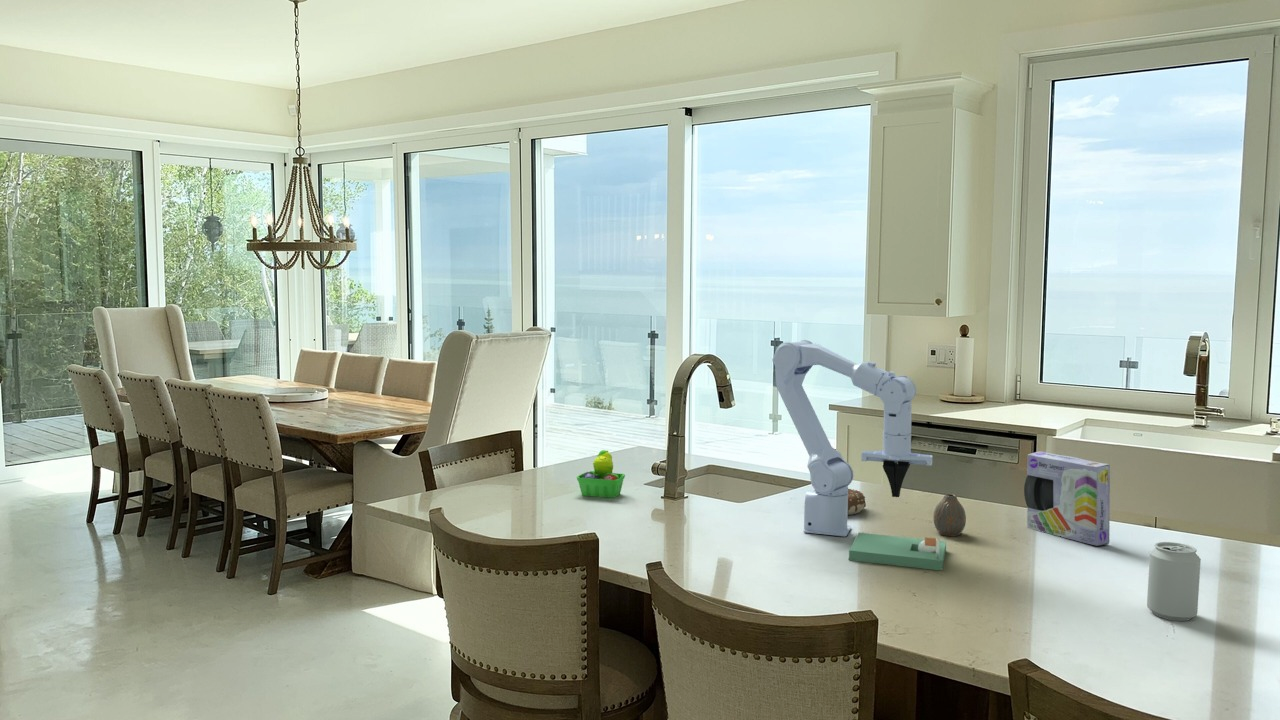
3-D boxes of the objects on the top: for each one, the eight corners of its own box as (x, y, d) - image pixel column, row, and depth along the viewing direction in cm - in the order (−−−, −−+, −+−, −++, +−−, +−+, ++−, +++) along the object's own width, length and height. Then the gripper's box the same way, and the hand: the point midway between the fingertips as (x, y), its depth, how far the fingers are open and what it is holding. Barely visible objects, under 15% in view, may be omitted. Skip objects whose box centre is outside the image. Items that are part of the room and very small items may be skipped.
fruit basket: (575, 496, 241) (575, 453, 239) (587, 489, 249) (587, 447, 248) (617, 499, 237) (617, 456, 236) (627, 492, 246) (627, 450, 245)
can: (1137, 607, 162) (1140, 540, 161) (1177, 606, 162) (1181, 539, 161) (1164, 623, 154) (1169, 553, 153) (1207, 622, 155) (1211, 552, 154)
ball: (927, 562, 187) (914, 549, 188) (927, 558, 190) (914, 546, 191) (939, 550, 186) (926, 537, 187) (939, 547, 190) (926, 534, 190)
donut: (868, 519, 220) (868, 498, 219) (809, 516, 222) (810, 496, 222) (863, 504, 234) (863, 484, 234) (808, 502, 236) (808, 482, 236)
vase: (967, 538, 203) (969, 499, 202) (934, 536, 205) (936, 498, 204) (963, 530, 210) (964, 492, 209) (931, 528, 211) (932, 490, 210)
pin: (924, 567, 183) (925, 537, 182) (924, 566, 184) (925, 536, 183) (938, 569, 182) (939, 539, 181) (938, 568, 183) (939, 538, 182)
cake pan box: (1020, 526, 213) (1024, 451, 212) (1035, 523, 216) (1039, 449, 214) (1095, 548, 196) (1099, 466, 195) (1110, 545, 199) (1115, 464, 197)
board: (848, 559, 188) (849, 550, 187) (858, 541, 201) (858, 532, 200) (941, 570, 181) (942, 560, 181) (945, 550, 194) (946, 541, 194)
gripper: (859, 434, 196) (858, 497, 198) (930, 438, 191) (929, 503, 192) (864, 429, 203) (863, 490, 204) (933, 433, 197) (932, 495, 199)
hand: (895, 496), depth 199 cm, fingers closed
